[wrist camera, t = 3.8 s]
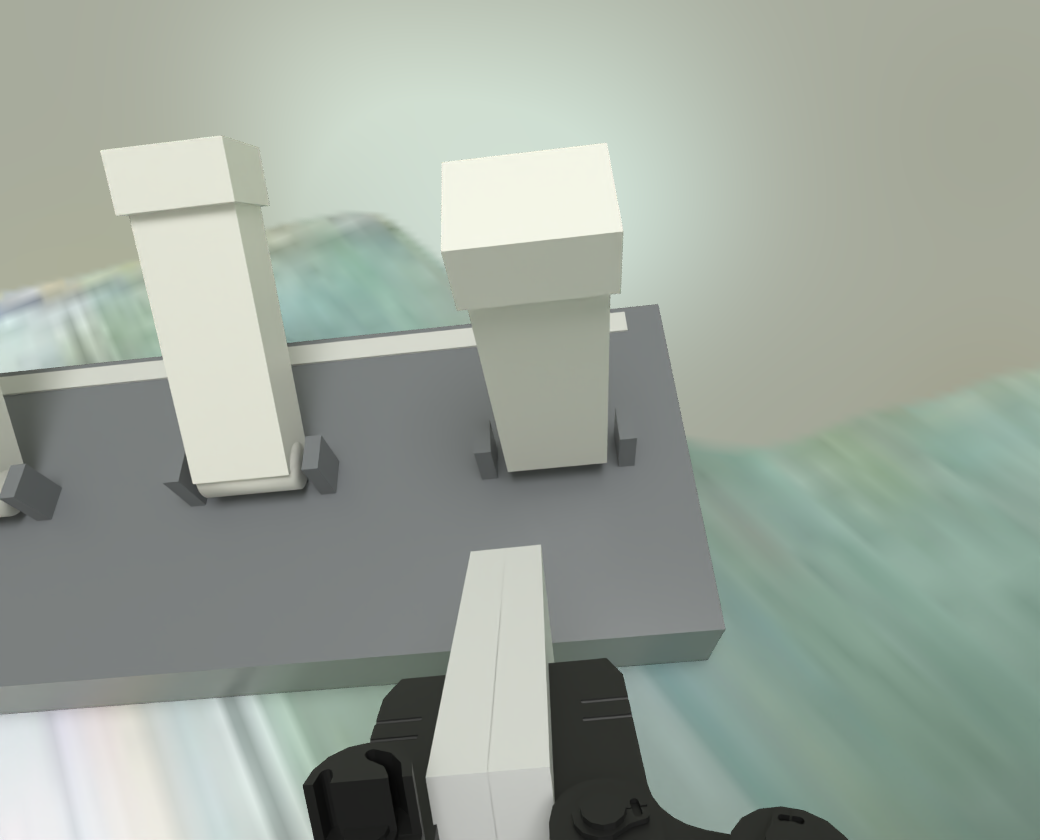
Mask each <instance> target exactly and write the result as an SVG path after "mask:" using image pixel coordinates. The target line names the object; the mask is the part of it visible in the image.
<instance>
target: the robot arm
mask: <svg viewBox="0 0 1040 840" xmlns="http://www.w3.org/2000/svg"><path fill="white" fill-rule="evenodd" d="M376 722H377V723H376V725H375V726H374V729H373V732H372V735H371V738H370V743H366V744H361V745H357V746H352V747H349V748H346V749H344V750H342V751H340V752H338V753H336V754H334V755H332V756H330V757H328V758H327V759H326V760H325V761H323V762H322V763H321V764H320V765H319V766H317V767H316V768H315V769H314V770H313V771H312V772H311V774H310V775H309V777H308V778H307V780H306V781H305V783H304V784H303V790H304V794H305V799H306V804H307V808H308V813H309V818H310V822H311V827H312V832H313V836H314V840H848V839H847V838H846V837H845V836H844V835H843V834H842V833H840V832H839V831H838V830H837V829H836V828H835V827H833V826H832V825H831V824H830V823H829V822H828V821H826V820H824V819H821V818H819V817H817V816H815V815H813V814H811V813H808V812H806V811H804V810H798V809H792V808H787V807H781V806H780V807H772V808H763V809H758V810H756V811H754V812H752V813H750V814H748V815H746V816H744V817H742V818H741V819H740V821H739V822H738V824H737V825H736V826H735V828H734V829H733V830H732V832H731V835H730V834H724V833H719V832H714V831H709V830H704V829H701V828H697V827H694V826H690V825H687V824H685V823H683V822H681V821H679V820H677V819H675V818H674V817H672V816H671V815H670V814H668V813H667V812H666V811H665V810H663V809H662V808H661V807H660V806H659V805H658V803H657V802H656V801H655V799H654V798H653V797H652V795H651V792H650V790H649V787H648V785H647V780H646V776H645V771H644V767H643V762H642V758H641V753H640V749H639V744H638V740H637V735H636V731H635V726H634V722H633V718H632V713H631V709H630V704H629V700H628V695H627V691H626V686H625V682H624V677H623V674H622V673H621V672H620V671H619V670H618V669H617V668H616V667H615V666H614V665H613V664H612V663H611V662H610V661H609V660H608V659H607V658H599V659H589V660H578V661H567V662H556V663H554V655H553V646H552V637H551V628H550V620H549V611H548V602H547V593H546V584H545V575H544V567H543V558H542V549H541V545H531V546H521V547H511V548H501V549H491V550H481V551H471V553H470V558H469V563H468V568H467V573H466V578H465V583H464V588H463V593H462V598H461V603H460V608H459V613H458V618H457V623H456V628H455V633H454V638H453V643H452V648H451V653H450V658H449V663H448V668H447V673H446V675H440V676H429V677H418V678H407V679H401V680H400V681H399V683H398V684H397V685H396V686H395V687H394V688H393V689H392V690H391V691H390V692H389V693H388V695H387V696H386V697H385V698H384V699H383V702H382V705H381V708H380V711H379V714H378V717H377V720H376Z"/></svg>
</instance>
